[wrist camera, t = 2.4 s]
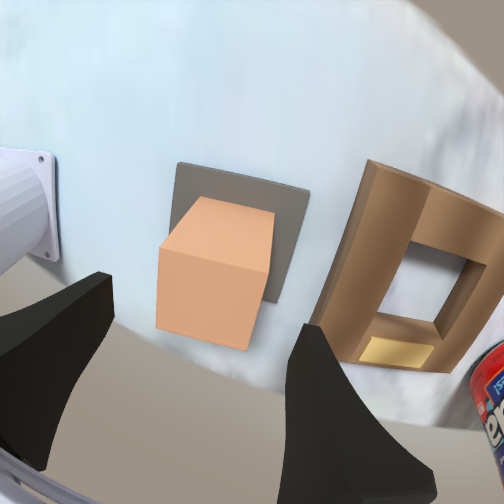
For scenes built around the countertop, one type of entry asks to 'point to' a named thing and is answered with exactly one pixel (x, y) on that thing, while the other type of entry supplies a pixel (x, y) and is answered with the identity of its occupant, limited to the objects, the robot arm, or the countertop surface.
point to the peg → (214, 272)
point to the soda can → (491, 401)
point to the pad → (250, 195)
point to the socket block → (387, 262)
